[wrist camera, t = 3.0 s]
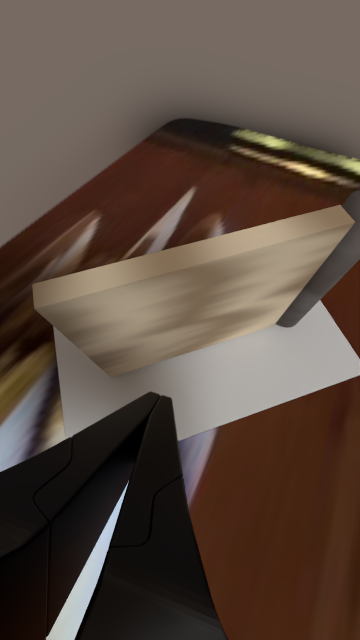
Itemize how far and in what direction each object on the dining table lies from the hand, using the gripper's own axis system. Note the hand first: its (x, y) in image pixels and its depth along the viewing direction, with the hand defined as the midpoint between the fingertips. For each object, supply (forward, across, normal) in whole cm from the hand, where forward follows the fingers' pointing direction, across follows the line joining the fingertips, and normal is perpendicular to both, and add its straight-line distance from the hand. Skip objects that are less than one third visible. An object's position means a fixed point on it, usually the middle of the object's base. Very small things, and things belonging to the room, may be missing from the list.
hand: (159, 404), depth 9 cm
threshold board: (+10, -1, +2) cm, 10 cm away
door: (+10, -1, +1) cm, 10 cm away
